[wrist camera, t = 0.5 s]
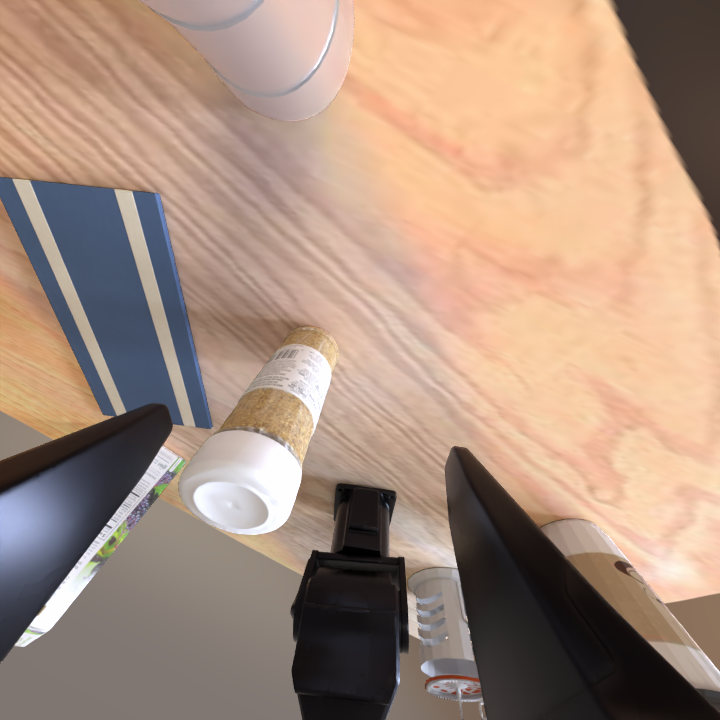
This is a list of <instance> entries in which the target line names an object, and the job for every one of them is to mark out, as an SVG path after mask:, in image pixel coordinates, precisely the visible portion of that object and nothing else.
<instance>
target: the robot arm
mask: <svg viewBox="0 0 720 720" xmlns="http://www.w3.org/2000/svg"><path fill="white" fill-rule="evenodd" d="M172 428H173V423H172V419H171V416H170V412H169V409H168V407H167V406H166V405H165V404H159V403H150V404H147V405H145V406H142V407H139V408H137V409H134V410H131V411H129V412H126V413H124V414H121V415H118V416H116V417H113V418H111V419H108V420H105V421H103V422H100V423H98V424H95V425H92V426H90V427H87V428H85V429H82V430H79V431H77V432H74V433H71V434H69V435H66V436H64V437H61V438H58V439H56V440H53V441H51V442H48V443H45V444H43V445H40V446H38V447H35V448H32V449H30V450H27V451H25V452H22V453H19V454H17V455H14V456H12V457H9V458H6V459H4V460H1V461H0V662H1V661H3V660H4V658H5V657H6V656H7V654H8V653H9V652H10V650H11V649H12V648H13V646H14V645H15V644H16V643H17V641H18V640H19V639H20V637H21V636H22V635H23V633H24V632H25V631H26V629H27V628H28V627H29V625H30V624H31V623H32V622H33V620H34V619H35V618H36V616H37V615H38V614H39V612H40V611H41V610H42V608H43V607H44V606H45V604H46V603H47V602H48V601H49V599H50V598H51V597H52V595H53V594H54V593H55V591H56V590H57V589H58V587H59V586H60V585H61V583H62V582H63V581H64V580H65V578H66V577H67V576H68V574H69V573H70V572H71V570H72V569H73V568H74V566H75V565H76V564H77V563H78V561H79V560H80V559H81V557H82V556H83V555H84V553H85V552H86V551H87V549H88V548H89V547H90V545H91V544H92V543H93V542H94V540H95V539H96V538H97V536H98V535H99V534H100V532H101V531H102V530H103V528H104V527H105V526H106V524H107V523H108V522H109V521H110V519H111V518H112V517H113V515H114V514H115V513H116V511H117V510H118V509H119V507H120V506H121V505H122V503H123V502H124V501H125V500H126V498H127V497H128V496H129V494H130V493H131V492H132V490H133V489H134V488H135V486H136V485H137V484H138V482H139V481H140V480H141V478H142V477H143V476H144V474H145V473H146V471H147V470H148V468H149V466H150V465H151V463H152V462H153V460H154V458H155V457H156V455H157V454H158V452H159V450H160V449H161V447H162V446H163V444H164V442H165V441H166V439H167V438H168V436H169V434H170V433H171V431H172ZM445 480H446V492H447V504H448V516H449V524H450V530H451V536H452V541H453V546H454V551H455V556H456V562H457V567H458V572H459V577H460V582H461V588H462V593H463V598H464V603H465V608H466V614H467V619H468V624H469V629H470V634H471V640H472V645H473V650H474V655H475V661H476V666H477V671H478V676H479V681H480V687H481V692H482V697H483V702H484V707H485V712H486V718H487V720H720V712H719V711H718V710H717V709H716V708H715V707H714V706H713V705H712V704H711V703H710V702H709V701H708V700H707V699H706V698H705V697H704V696H703V695H702V694H701V693H700V692H699V691H698V690H697V689H696V688H695V687H694V686H693V685H692V684H691V683H689V682H688V681H687V680H686V679H685V678H684V677H683V676H682V675H681V674H680V673H679V672H678V671H677V670H676V669H675V668H674V667H673V666H672V665H671V664H670V663H669V662H668V661H667V660H666V659H665V658H664V657H663V656H662V655H661V654H660V653H659V652H658V651H657V650H656V649H655V648H654V647H653V646H652V645H651V644H650V643H649V642H648V641H647V640H646V639H645V638H644V637H643V636H642V635H641V634H640V633H639V632H638V631H637V630H635V628H634V627H633V626H632V625H631V624H630V623H629V622H628V621H627V620H626V619H625V618H624V617H623V616H622V615H621V614H620V613H619V612H618V611H617V610H616V609H615V608H614V607H613V606H612V605H611V604H610V603H609V602H608V601H607V600H606V599H605V598H604V597H603V596H602V595H601V594H600V593H599V592H598V591H597V590H596V589H595V588H594V586H593V585H592V584H591V583H590V582H589V581H588V580H587V579H586V578H585V577H584V576H583V575H582V574H581V573H580V571H579V570H578V569H577V568H576V567H575V566H574V565H573V564H572V563H571V562H570V561H569V560H568V559H565V555H564V554H563V553H562V552H561V551H560V550H559V549H558V548H557V546H556V545H555V544H554V543H553V542H552V541H551V540H550V539H549V538H548V537H547V535H546V534H545V533H544V532H543V531H542V530H541V529H540V528H539V527H538V526H537V524H536V523H535V522H534V521H533V520H532V519H531V518H530V517H529V516H528V515H527V513H526V512H525V511H524V510H523V509H522V508H521V507H520V506H519V505H518V504H517V503H516V501H515V500H514V499H513V498H512V497H511V496H510V495H509V494H508V493H507V492H506V490H505V489H504V488H503V487H502V486H501V485H500V484H499V483H498V482H497V481H496V479H495V478H494V477H493V476H492V475H491V474H490V473H489V472H488V471H487V470H486V468H485V467H484V466H483V465H482V464H481V463H480V462H479V461H478V460H477V459H476V458H475V456H474V455H473V454H472V453H471V452H470V451H469V450H468V449H467V448H464V447H458V446H454V447H452V448H451V451H450V454H449V456H448V459H447V462H446V465H445ZM395 501H396V492H395V491H391V490H384V489H376V488H369V487H362V486H355V485H347V484H337V486H336V494H335V508H334V521H335V528H334V534H333V540H332V546H331V552H330V553H329V552H319V551H318V550H313V551H312V554H311V557H310V559H309V560H308V563H307V566H306V569H305V572H304V575H303V578H302V581H301V585H300V588H299V591H298V593H297V596H296V598H295V600H294V602H293V604H292V607H291V616H292V618H293V638H294V641H295V642H297V644H296V650H295V656H294V660H293V665H292V678H293V684H294V690H295V693H297V695H298V700H299V705H300V710H301V715H302V720H386V719H387V717H388V714H389V712H390V709H391V706H392V704H393V701H394V698H395V696H396V693H397V689H398V685H399V681H400V661H399V653H402V654H408V648H409V629H408V604H407V589H406V575H405V560H404V557H398V558H395V557H389V526H390V522H391V518H392V513H393V509H394V505H395Z"/></svg>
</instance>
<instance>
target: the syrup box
mask: <svg viewBox="0 0 720 720" xmlns="http://www.w3.org/2000/svg"><path fill="white" fill-rule="evenodd" d="M185 463H186V461H185V459H183V458H182V457H180V456H179V455H177V454H175V453H174V452H172V451H171V450H169V449H167V448H166V447H164V446H162V447H161V449H160V450H159V452H158V454H157V455H156V457H155V458H154V460H153V462H152V463H151V465H150V466H149V468H148V470H147V471H146V473H145V474H144V476H143V477H142V478H141V480H140V481H139V482H138V484H137V485H136V486H135V488H134V489H133V490H132V492H131V493H130V494H129V496H128V497H127V498H126V500H125V501H124V502H123V503H122V505H121V506H120V507H119V509H118V510H117V511H116V513H115V514H114V515H113V517H112V518H111V519H110V521H109V522H108V523H107V524H106V526H105V527H104V528H103V530H102V531H101V532H100V534H99V535H98V536H97V538H96V539H95V540H94V542H93V543H92V544H91V545H90V547H89V548H88V549H87V551H86V552H85V553H84V555H83V556H82V557H81V559H80V560H79V561H78V563H77V564H76V565H75V566H74V568H73V569H72V570H71V572H70V573H69V574H68V576H67V577H66V578H65V580H64V581H63V582H62V583H61V585H60V586H59V587H58V589H57V590H56V591H55V593H54V594H53V595H52V597H51V598H50V599H49V601H48V602H47V603H46V604H45V606H44V607H43V608H42V610H41V611H40V612H39V614H38V615H37V616H36V618H35V619H34V620H33V622H32V623H31V624H30V625H29V627H28V628H27V629H26V631H25V632H24V633H23V635H22V636H21V637H20V639H19V640H18V641H17V643H16V644H15V645H14V646H21V647H25V646H26V645H27V644H29V643H30V642H32V641H33V640H35V639H36V638H38V637H39V636H41V635H42V634H44V633H45V632H47V631H49V630H50V629H51V628H52V627H53V626H54V624H55V623H56V622H57V621H58V620H59V618H60V617H61V616H62V615H63V613H64V612H65V611H66V610H67V608H68V607H69V606H70V605H71V603H72V602H73V601H74V600H75V598H76V597H77V596H78V595H79V594H80V592H81V591H82V590H83V589H84V587H85V586H86V585H87V584H88V582H89V581H90V580H91V579H92V578H93V576H94V575H95V574H96V573H97V571H98V570H99V569H100V568H101V566H102V565H103V564H104V563H105V561H106V560H107V559H108V558H109V557H110V555H111V554H112V553H113V552H114V551H115V549H116V548H117V547H118V546H119V545H120V543H121V542H122V541H123V540H124V538H125V537H126V536H127V535H128V533H129V532H130V531H131V530H132V528H133V527H134V526H135V525H136V524H137V522H138V521H139V520H140V519H141V517H142V516H143V515H144V514H145V512H146V511H147V510H148V509H149V507H150V506H151V505H152V504H153V503H154V501H155V500H156V499H157V498H158V496H159V495H160V494H161V493H162V491H163V490H164V489H165V488H166V486H167V485H168V484H169V483H170V481H171V480H172V479H173V478H174V477H175V475H176V474H177V473H178V472H179V470H180V469H181V468H182V467H183V465H184V464H185Z"/></svg>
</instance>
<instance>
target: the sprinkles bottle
mask: <svg viewBox="0 0 720 720" xmlns="http://www.w3.org/2000/svg"><path fill="white" fill-rule="evenodd" d="M338 356H339V351H338V347H337V344H336V342H335V340H334V339H333V337H332V336H331V335H330V334H329V333H327V332H326V331H324V330H322V329H320V328H318V327H314V326H302V327H298V328H296V329H294V330H293V331H291V332H290V333H289V334H288V335H287V337H286V338H285V340H284V342H283V344H282V346H281V347H280V349H278V350H277V351H276V352H275V353H274V354H273V356H272V357H271V358H270V360H269V361H268V362H267V364H266V365H265V366H264V367H263V369H262V370H261V371H260V373H259V374H258V375H257V377H256V378H255V379H254V381H253V382H252V383H251V385H250V386H249V387H248V389H247V390H246V391H245V393H244V394H243V395H242V397H241V398H240V400H239V402H238V404H237V406H236V407H235V408H234V410H233V411H232V413H231V414H230V415H229V417H228V418H227V419H226V421H225V422H224V424H223V425H222V426H221V428H220V429H219V430H218V431H216V432H215V433H214V434H213V435H212V436H211V437H210V438H208V439H207V440H206V441H205V442H204V443H203V445H202V446H201V447H200V449H199V450H198V451H197V453H196V454H195V455H194V457H193V458H192V459H191V461H190V462H189V464H188V465H187V467H186V468H185V469H184V471H183V472H182V474H181V476H180V479H179V483H178V489H179V494H180V497H181V499H182V501H183V503H184V504H185V506H186V507H187V508H188V509H189V510H190V511H191V512H192V513H193V514H194V515H195V516H197V517H198V518H199V519H201V520H202V521H204V522H206V523H207V524H209V525H211V526H213V527H216V528H219V529H221V530H224V531H228V532H232V533H236V534H246V535H257V534H263V533H267V532H271V531H273V530H275V529H277V528H279V527H280V526H281V525H282V524H284V523H285V521H286V520H287V519H288V517H289V515H290V513H291V510H292V507H293V504H294V501H295V498H296V495H297V492H298V489H299V486H300V482H301V472H302V464H303V460H304V458H305V454H306V451H307V448H308V445H309V442H310V439H311V437H312V435H313V433H314V431H315V428H316V425H317V422H318V418H319V415H320V412H321V409H322V406H323V403H324V400H325V397H326V394H327V390H328V387H329V384H330V381H331V375H332V372H333V369H334V367H335V366H336V364H337V361H338Z"/></svg>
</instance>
